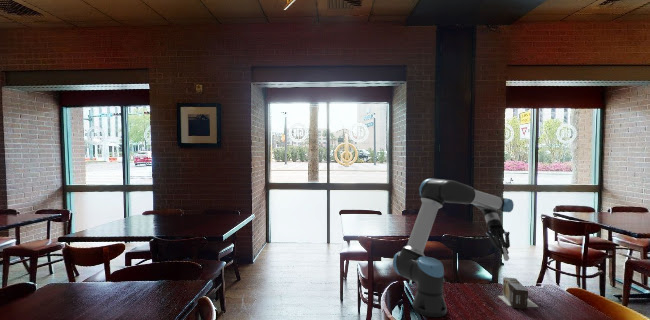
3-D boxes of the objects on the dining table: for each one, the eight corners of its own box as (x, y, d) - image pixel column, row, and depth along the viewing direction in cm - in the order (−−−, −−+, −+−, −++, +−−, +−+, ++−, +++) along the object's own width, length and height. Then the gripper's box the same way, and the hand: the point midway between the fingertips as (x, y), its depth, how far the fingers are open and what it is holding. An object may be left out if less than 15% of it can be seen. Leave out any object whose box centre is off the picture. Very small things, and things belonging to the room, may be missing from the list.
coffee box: (502, 276, 172) (513, 288, 156) (516, 278, 170) (528, 290, 155) (502, 294, 172) (512, 307, 156) (515, 295, 170) (527, 309, 155)
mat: (508, 306, 159) (508, 305, 159) (497, 296, 170) (497, 295, 170) (538, 307, 158) (538, 306, 158) (525, 297, 169) (525, 296, 169)
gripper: (502, 226, 194) (516, 263, 178) (480, 225, 195) (492, 262, 178) (507, 219, 189) (522, 256, 172) (484, 218, 189) (497, 255, 173)
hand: (507, 259), depth 175 cm, fingers closed
